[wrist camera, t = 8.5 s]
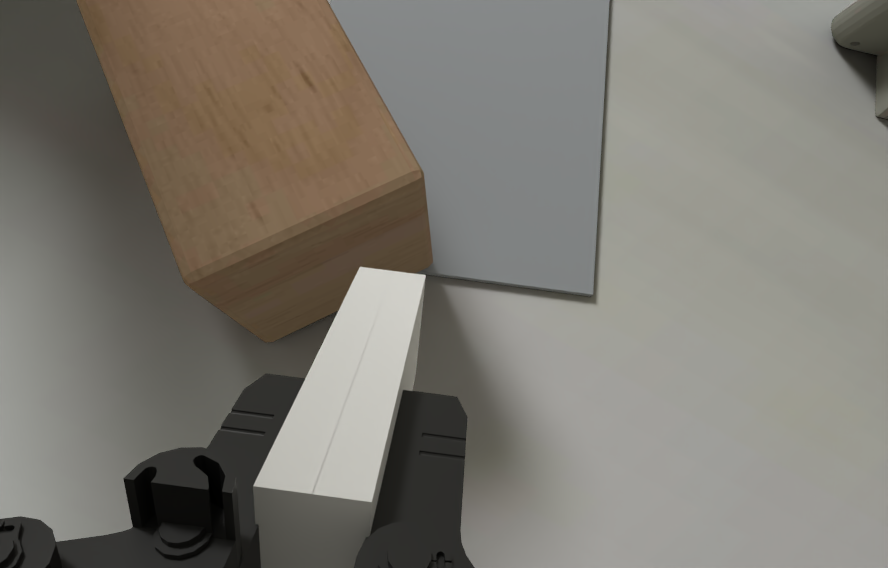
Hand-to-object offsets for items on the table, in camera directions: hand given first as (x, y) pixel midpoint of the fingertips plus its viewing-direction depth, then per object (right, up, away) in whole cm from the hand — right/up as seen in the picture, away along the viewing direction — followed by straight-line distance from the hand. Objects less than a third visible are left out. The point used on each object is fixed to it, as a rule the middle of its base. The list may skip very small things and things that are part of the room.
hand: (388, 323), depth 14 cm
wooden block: (-4, +1, +13) cm, 13 cm away
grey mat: (+2, +12, +23) cm, 25 cm away
